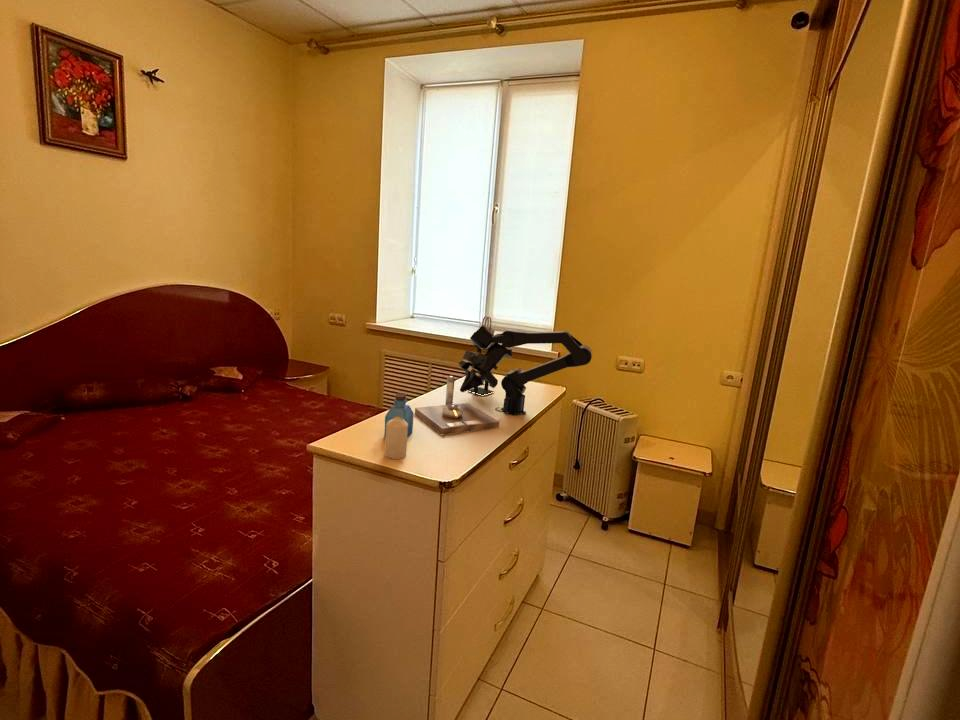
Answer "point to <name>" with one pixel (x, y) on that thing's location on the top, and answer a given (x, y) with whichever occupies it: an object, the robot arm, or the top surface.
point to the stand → (456, 419)
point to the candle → (396, 438)
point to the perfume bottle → (400, 412)
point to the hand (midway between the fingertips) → (460, 391)
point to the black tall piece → (479, 389)
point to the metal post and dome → (451, 401)
